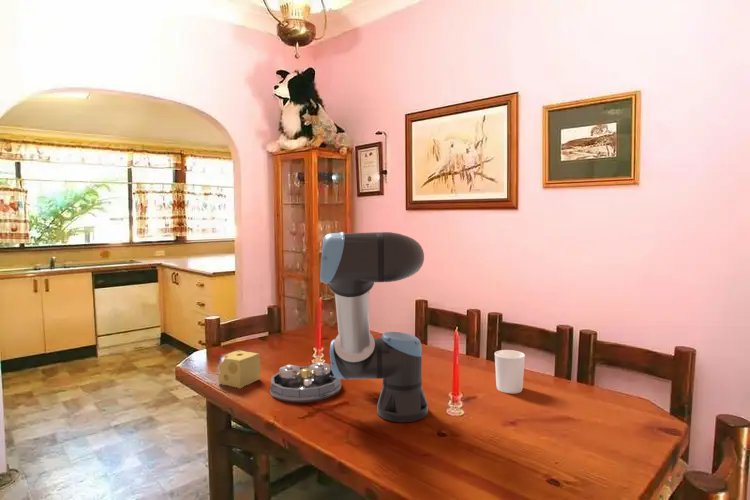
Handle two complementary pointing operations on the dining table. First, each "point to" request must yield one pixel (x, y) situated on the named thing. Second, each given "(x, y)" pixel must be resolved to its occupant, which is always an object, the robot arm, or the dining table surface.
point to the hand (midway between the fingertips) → (358, 350)
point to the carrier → (304, 383)
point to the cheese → (239, 369)
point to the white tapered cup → (509, 370)
